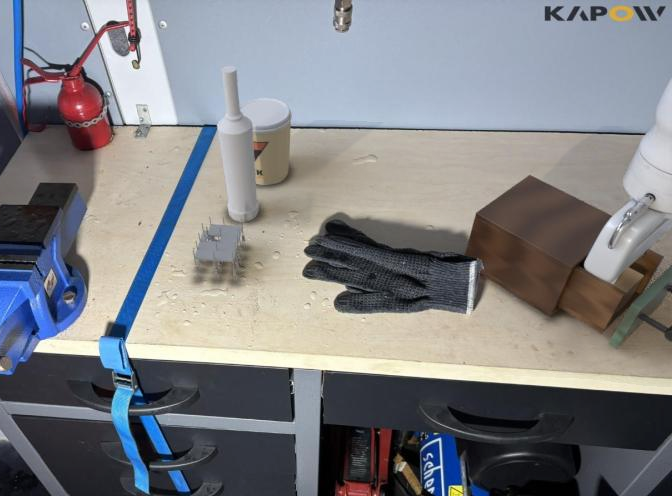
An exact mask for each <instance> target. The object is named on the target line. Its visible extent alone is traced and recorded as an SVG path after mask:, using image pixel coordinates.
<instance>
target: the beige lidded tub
mask: <svg viewBox="0 0 672 496" xmlns="http://www.w3.org/2000/svg"><path fill="white" fill-rule="evenodd" d="M240 111H241V112H242V113H243V115H244V116H246V117H247V118H249V119H250V120H251V121H252V127H253V144H254V162H255V179H256V185H260V186H271V185H275V184H278V183H280V182H282V181H283V180H285V179H286V177H287V176H288V175H289V169H290V167H289V166H290V152H291V151H290V149H291V129H292V128H291V125H292V117H293V115H292V110H291V109H290V107H289V105H288V104H287V103H285V102H284V101H282V100H280V99H277V98H272V97H259V98H254V99H250V100H247V101H245V102H243V103H242V104H240Z"/></svg>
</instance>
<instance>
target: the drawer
mask: <svg viewBox="0 0 672 496" xmlns="http://www.w3.org/2000/svg"><path fill="white" fill-rule="evenodd" d="M664 259H665V256H664V255H662V254H660V253H657V252H656V251H654V250H652V249H650V250H649V252H648V253H647V254H646V255H645V256H644V257H642V258H641V259H637V260H636V261H635V262H634V263H633V264H632V265H630V266H629V268H631V269H633V270H635V271H637V272H639V273H641V274H642V275H644V277H643V279H642V281H641V282H640V284H639V286H638V287H637V289H636V291H635V292H634V294H633V296H632V298H631V299H630V300H629V301H628V302H627V303H626V304H625V305H624V306H623V307H622V308H621V309H620V310H619V311H618V312H617V313H616V314H615V312H616V311H617V309H618V307H619V305H620V304H621V302H622V300H623V298H624V297H625V295H626V292H625V291H623V290H621V289H619V288H617V287H616V286H614V285H612V284H610V283H609V282H606V281H604V280H602V279H600V278H598V277H596V276H594V275H593V274H591V273H589V272H588V271H586V270H585V267H584V262H585V260H586V259H585V260H583V261H582V262H581V263H580V264H579V265H578V266H576V267H575V268H574V270H573V272H572V274H571V276H570V279H569V281H568V283H567V285H566V287H565V289H564V292H563V294H562V296H561V298H560V300H559V303H558V305H557V306H558V307H560V309H561V310H563V311H564V312H566V313H568V314H569V315H571V316H572V317H574V318H576V319H577V320H579V321H580V322H582V323H584V324H586V325H587V326H589V327H590V328H592V329H594V330H595V331H597V332H598V333H600V334H603V333H605V332H606V330H607V329H609V327H611V325H613V324H614V323H615V322H616V321H617V320H618V319H619V317H621V316H622V315H623V314H624V315H623V317H622V319H621V321H620V322H619V324H618V325H617V328H616V329H615V331H614V332H613V334H612V335H611V338H610V339H609V341H608V343H607V344H608V345H609V346H611V347H612V348H614V349H615V350H618V348H619V347H620V346H621V345H622V344H623V343H624V342H626V341H627V339H629V337H630V336H631V335H632V334H633V333H634V332H636V330H637V329H639V327H640V326H641V325H642V324H643V323H646V324H648V325H649V326H651V327H653V328H655V329H656V330H658V331H659V332H661V333H663V335H664V338H665V339H666V340H667V341H669V342H671V343H672V324H671V325H670V326H669V327H668V326H666V325H665V324H663V323H661V322H659V321H657V320H656V319H654V318H652V317H651V315H652V314H653V313H654V312H655V311H656V310H657V309H658V308H659V307H660V306H661V305H662V303H663V302H664V301H665V299H666V297H667V295H668V294H669V293H671V294H672V264H671V265H670V266H669V267H668V268H667V269H666V270H665V271H663V272H662V274H661V275H660V276H658V277H657V278H656V279H655V280H654V281H653V282H652V283H651V284H650V285H649V283H650V282H651V281H652V279H653V277H654V276H655V274H656V272H657V270H658V268H659V267H660V266H661V263H662V262H663V260H664ZM614 314H615V315H614Z"/></svg>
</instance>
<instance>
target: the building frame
mask: <svg viewBox="0 0 672 496" xmlns="http://www.w3.org/2000/svg"><path fill="white" fill-rule="evenodd" d="M208 218H209V228H208V226H205V230H204V224H203V223H201V229H202V233H201V236H200V232H198V238H199V239H198V240H199V242H197V241H198V240H195V245H196V246H195V247H196V250H194V249H192V255H193V260H194V265H195V267H194V270H195V274H196V276H197V281H199V280H200V274H199V271H200V269H201V271H204V270H203V262H204V263H206V261H208V263H210V262H212V261H213V262H214V275H215V276H217V277H215V281H220V279H219V278H220V277H219V273H220V272H223V270H222V264H223V263H224V262H227V263H232V265H233V266H232V267H233V269H232V276H234V277H233V282H234V283H235V282H238V277H237V276H238V273H239V274H240V271H238V270H240V262H242V258H244V254H243V253H244V252H243V251H244V249H246V247H247V246H246V245H244V246H243V244H244V243H246V238H245V235H244V227H243V222H242V218H241V222H240V223H241V225H231V224H230V225H228V224H225V223H226V222H225V217H224V216H222V224H215V223H212V220H211V216H210V215H209V217H208ZM241 242H242V243H241ZM216 262H217V263H216ZM219 270H220V271H219Z"/></svg>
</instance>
